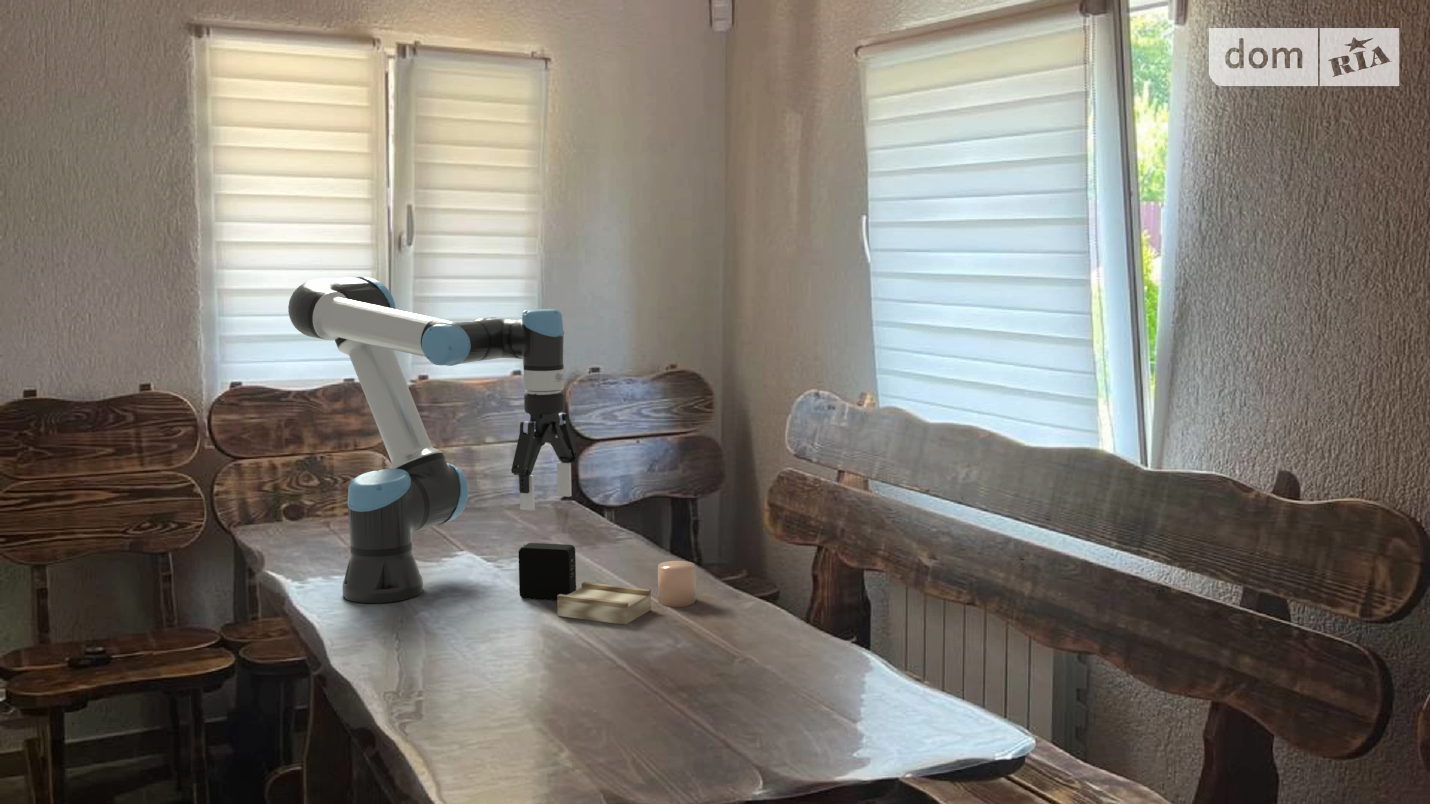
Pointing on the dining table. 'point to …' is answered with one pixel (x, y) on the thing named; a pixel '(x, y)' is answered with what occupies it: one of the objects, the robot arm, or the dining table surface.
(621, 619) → the stand
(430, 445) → the robot arm
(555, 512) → the dining table surface
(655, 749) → the dining table surface
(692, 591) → the peach rounded cylinder
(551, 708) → the dining table surface
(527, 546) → the electronic device
